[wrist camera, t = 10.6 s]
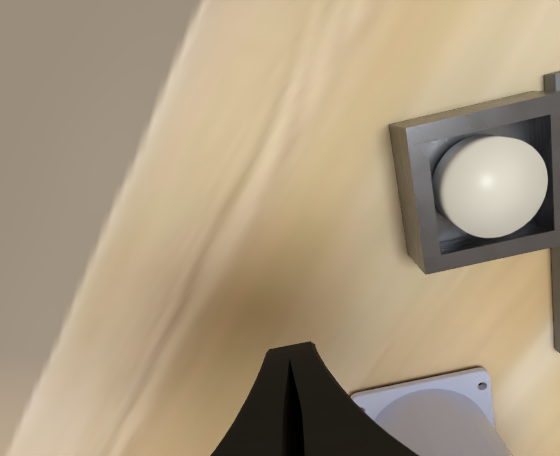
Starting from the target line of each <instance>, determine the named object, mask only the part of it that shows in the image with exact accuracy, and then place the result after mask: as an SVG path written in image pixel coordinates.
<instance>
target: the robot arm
mask: <svg viewBox="0 0 560 456" xmlns="http://www.w3.org/2000/svg"><path fill="white" fill-rule="evenodd" d="M482 382H483V384H482V385H480V386H478V385H479V384H480V383H482ZM360 407H363V409H361V408H360ZM211 456H513V455H512V454H511V452H510V451H509V449H508V448H507V446H506V445H505V443H504V442H503V440H502V439H501V437H500V436H499V435H498V433H497V432H496V430H495V423H494V412H493V402H492V391H491V380H490V375H489V373H488V372H487V370H485V369H484V368H474V369H469V370H464V371H459V372H455V373H450V374H445V375H440V376H435V377H430V378H425V379H420V380H416V381H411V382H406V383H401V384H396V385H391V386H386V387H382V388H377V389H372V390H367V391H362V392H357V393H354V394H353V395H352V396H351V397H350V396H349V395H348V394H347V393H346V392H345V391H344V390H343V388H342V387H341V386H340V385H339V383H338V382H337V381H336V379H335V378H334V377H333V376H332V374H331V373H330V371H329V370H328V369H327V367H326V366H325V364H324V362H323V361H322V359H321V357H320V356H319V354H318V352H317V349H316V347H315V344H314V343H312V342H311V341H310V342H305V343H300V344H294V345H289V346H284V347H279V348H274V349H269V350H268V352H267V353H266V356H265V358H264V361H263V364H262V366H261V369H260V371H259V374H258V376H257V378H256V381H255V383H254V385H253V387H252V389H251V391H250V393H249V395H248V397H247V399H246V401H245V403H244V405H243V406H242V408H241V410H240V412H239V413H238V415H237V417H236V419H235V420H234V422H233V424H232V425H231V427H230V429H229V430H228V432H227V433H226V435H225V436H224V438H223V439H222V441H221V442H220V443H219V445H218V446H217V448H216V449H215V450H214V452H213V453H212V454H211Z"/></svg>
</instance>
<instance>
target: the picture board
mask: <svg viewBox="0 0 560 456" xmlns="http://www.w3.org/2000/svg"><path fill="white" fill-rule="evenodd" d="M544 83H545V91H558V90H560V71H559V72H555V73H550V74H546V75H544ZM551 262H552V288H553V313H554V339H555V349H556V350H557V351H558V352H559V353H560V246H556V247H551Z"/></svg>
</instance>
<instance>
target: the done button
mask: <svg viewBox="0 0 560 456" xmlns="http://www.w3.org/2000/svg"><path fill="white" fill-rule="evenodd" d="M547 185H548V176H547V169H546V166H545V163H544V161H543V159H542V157H541V156H540V154H539V153H538V152H537V151H536V149H534V148H533V147H532V146H531V145H529V144H527V143H526V142H524V141H521V140H518V139H514V138H509V137H503V136H497V135H489V134H481V135H475V136H472V137H468V138H466V139H464V140H462V141H460V142H458V143H457V144H455V145H454V146H453V147H451V148H450V149H449V150H448V151H447V152H446V153H445V155H444V156H443V157H442V158H441V160H440V162H439V163H438V165H437V167H436V170H435V172H434V176H433V180H432V188H433V196H434V202H435V205H436V207H437V208H438V210H439V211H440V213H441V214H442V215H443V216H444V217H445V218H446V219H448V220H449V221H450V222H452V223H453V224H455V225H456V226H458V227H459V228H460V229H462V230H463V231H465V232H467V233H469V234H471V235H474V236H477V237H482V238H495V237H501V236H505V235H508V234H510V233H513V232H514V231H516V230H518V229H520V228H521V227H523V226H524V225H525V224H526V223H528V222H529V221H530V220H531V219H532V218H533V216H534V215H535V214H536V213H537V211H538V210H539V208H540V206H541V205H542V203H543V200H544V198H545V195H546V191H547Z"/></svg>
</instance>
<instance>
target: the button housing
mask: <svg viewBox="0 0 560 456" xmlns="http://www.w3.org/2000/svg"><path fill="white" fill-rule="evenodd" d="M389 129H390V135H391V142H392V149H393V156H394V163H395V169H396V176H397V183H398V190H399V197H400V203H401V210H402V217H403V224H404V231H405V237H406V244H407V251H408V255H409V256H410V258H411V259H412V260H413V261H414V262H415V263H416V264H417V266H418V267H419V268H420V269H421V270H422V271H423V272H424V273H425V275H426V274H431V273H435V272H440V271H445V270H449V269H454V268H459V267H463V266H468V265H472V264H477V263H482V262H486V261H491V260H496V259H500V258H505V257H509V256H514V255H519V254H523V253H528V252H533V251H537V250H542V249H546V248H551V247H556V246H560V90H558V91H531V92H526V93H522V94H518V95H513V96H509V97H505V98H501V99H496V100H492V101H488V102H483V103H479V104H475V105H471V106H466V107H462V108H458V109H453V110H449V111H445V112H441V113H436V114H432V115H428V116H423V117H419V118H415V119H410V120H406V121H402V122H398V123H393V124H389ZM481 134H489V135H497V136H503V137H509V138H514V139H518V140H521V141H524V142H526V143H527V144H529V145H531V146H532V147H533V148H534V149H536V151H537V152H538V153H539V154H540V156H541V157H542V159H543V161H544V163H545V166H546V169H547V176H548V185H547V191H546V195H545V198H544V200H543V203H542V205H541V206H540V208H539V210H538V211H537V213H536V214H535V215H534V216H533V218H532V219H531V220H530V221H529V222H528V223H526V224H525V225H524V226H523V227H521V228H520V229H518V230H516V231H514V232H513V233H510V234H508V235H505V236H501V237H495V238H482V237H477V236H474V235H471V234H469V233H467V232H465V231H463V230H462V229H460V228H459V227H458V226H456V225H455V224H453V223H452V222H450V221H449V220H448V219H446V218H445V217H444V216H443V215H442V214H441V213H440V211H439V210H438V208H437V207H436V205H435V202H434V196H433V188H432V180H433V176H434V172H435V170H436V167H437V165H438V163H439V162H440V160H441V158H442V157H443V156H444V155H445V153H446V152H447V151H448V150H449V149H450V148H451V147H453V146H454V145H455V144H457V143H458V142H460V141H462V140H464V139H466V138H468V137H472V136H475V135H481Z"/></svg>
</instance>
